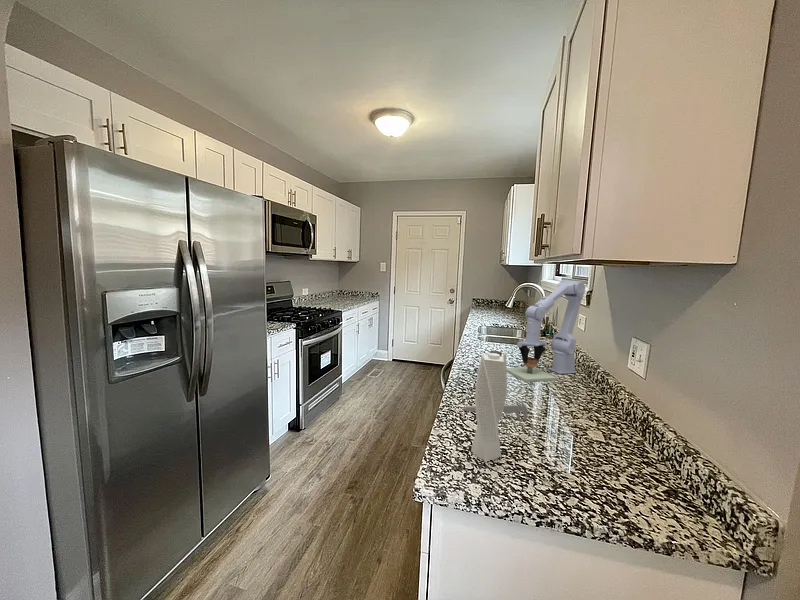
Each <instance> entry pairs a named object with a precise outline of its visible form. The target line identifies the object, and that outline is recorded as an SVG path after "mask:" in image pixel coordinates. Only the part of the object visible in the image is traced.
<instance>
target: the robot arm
mask: <svg viewBox="0 0 800 600" xmlns="http://www.w3.org/2000/svg"><path fill="white" fill-rule="evenodd" d="M585 292H586V286H585V283H584V282H583V280H568V279H561V281H560V282H558V284H557V287H556V288H555V289H554V290H552V292H551V293H550V294H549V295H548V296H541V299H539V300H538V301H537V302H536V303H534V304H533V305H530V306H529V307H527V308H526V309H525V312H524V315H525V317H526V322H527V323H526V324H527V325H526V334H525V335H526V336H525V341H524V340H523V341H517V344H516V345H517V348H518V349H519V351H520V354H521V355H520V356H521V359H522V363H524V362H525V363H527V360H528V357H529V354H530V350H531V348H529V347H533V352H534V353H533V354H534V355H533V356H534V357H533V358H535V359H538V363H539V361H540V358H541V356H542V355H543V353H544V352H545V351H546V347H547V346H548V342H547V341H543V340H542V341H541V340H540V337H541V327H542V326H541V325H542V320H543V319H545V316H546V314H547V312H548V311H549V310H551V309H552V308H553V307H554V305H555V302H556V301H557V300H559V299H560V298H561V297H565V298H566V299H567V301H568V302H567V304H566V309H565V312H564V316H563V319H562V323H561V326H560V330H559V331H558V332H557V333H555V334H554V335H553V338H552V339H551V341H550V349H551V350H552V352H553V357H552V367H548V368H547V369H548V370H550V371H552V372H555V373H557V374H560V375H562V374H563V375H565V374H575V373H576V371H575V366H576V365H575V364H576V357H575V355H574V353H575V351H576V342H577V340H576V338H575V337H574V336H573V332H574V328H575V325H576V322H577V318H578V314H579V311H580V307H581V304H582V300H583V299H584V296H585V295H584V294H585Z"/></svg>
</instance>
